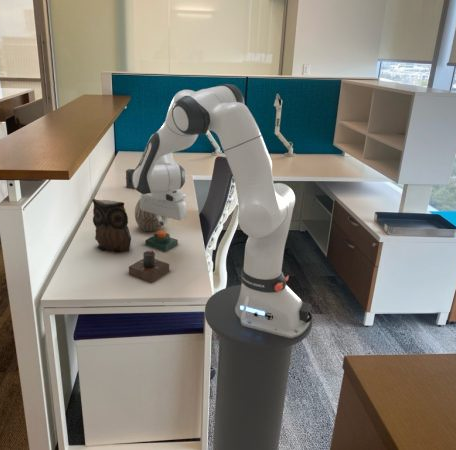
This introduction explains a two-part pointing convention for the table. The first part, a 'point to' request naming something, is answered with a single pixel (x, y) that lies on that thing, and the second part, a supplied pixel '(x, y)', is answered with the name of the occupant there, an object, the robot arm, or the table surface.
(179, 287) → the table surface
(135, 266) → the knob panel
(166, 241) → the button box
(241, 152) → the robot arm
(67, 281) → the table surface
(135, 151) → the table surface
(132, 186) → the camera
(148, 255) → the rod knob
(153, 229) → the vase
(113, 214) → the owl
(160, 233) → the button
